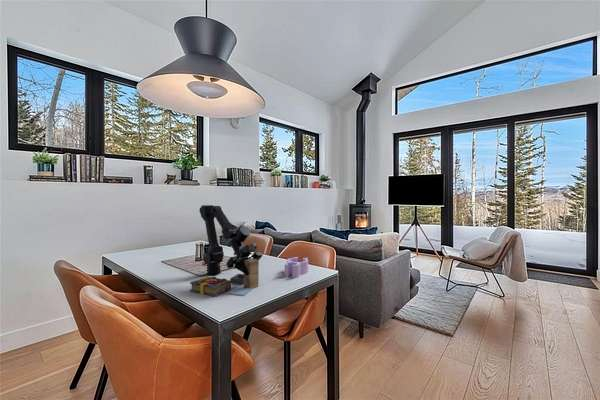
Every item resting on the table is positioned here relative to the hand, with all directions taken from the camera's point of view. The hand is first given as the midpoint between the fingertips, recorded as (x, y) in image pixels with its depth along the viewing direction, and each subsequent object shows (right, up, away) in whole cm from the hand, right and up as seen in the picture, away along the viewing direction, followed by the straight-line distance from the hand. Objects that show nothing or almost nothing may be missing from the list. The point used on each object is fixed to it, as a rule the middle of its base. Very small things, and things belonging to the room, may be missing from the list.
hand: (252, 273), depth 130 cm
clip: (+20, -7, +26) cm, 33 cm away
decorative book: (-18, -7, -4) cm, 20 cm away
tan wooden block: (-1, -7, +1) cm, 7 cm away
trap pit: (-8, -6, +9) cm, 14 cm away
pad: (-5, -7, -6) cm, 10 cm away
